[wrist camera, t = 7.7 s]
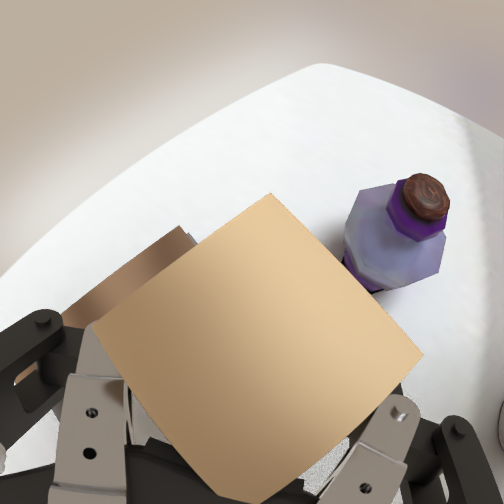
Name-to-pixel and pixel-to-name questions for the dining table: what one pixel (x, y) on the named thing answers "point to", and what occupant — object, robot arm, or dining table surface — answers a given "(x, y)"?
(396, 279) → the potion bottle
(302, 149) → the dining table surface
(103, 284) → the chalkboard eraser
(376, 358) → the wooden block
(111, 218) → the dining table surface
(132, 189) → the dining table surface
